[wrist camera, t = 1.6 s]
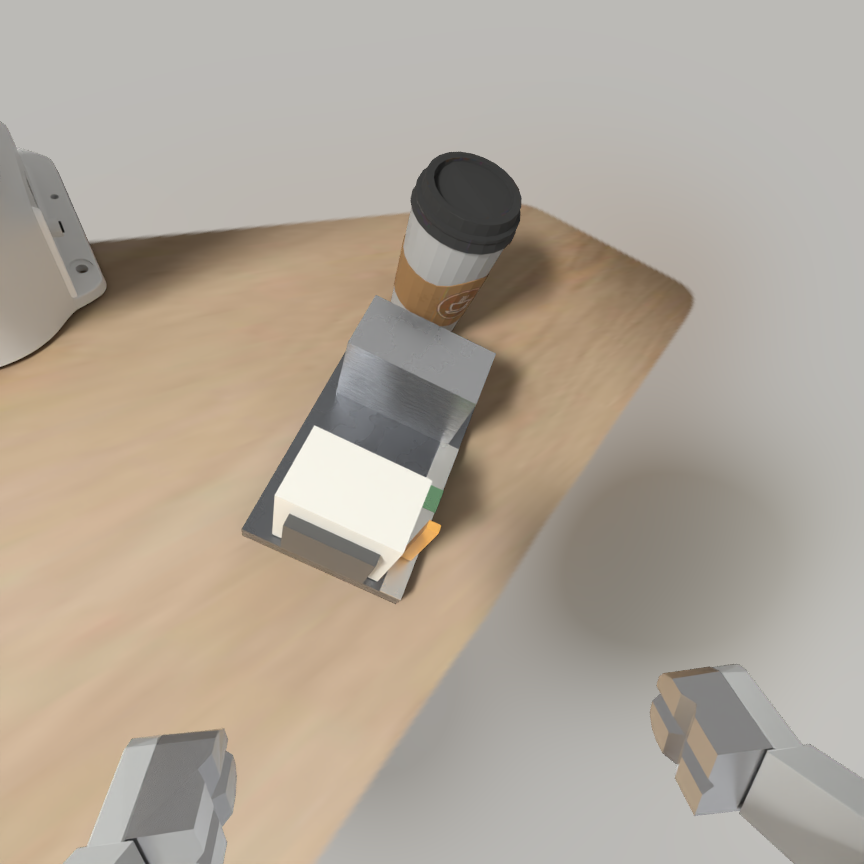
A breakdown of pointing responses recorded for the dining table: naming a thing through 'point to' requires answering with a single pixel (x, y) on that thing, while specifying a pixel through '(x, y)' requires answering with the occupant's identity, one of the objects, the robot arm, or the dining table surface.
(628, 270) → the dining table surface
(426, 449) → the base
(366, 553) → the cream rectangular block
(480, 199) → the coffee cup
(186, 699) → the dining table surface
